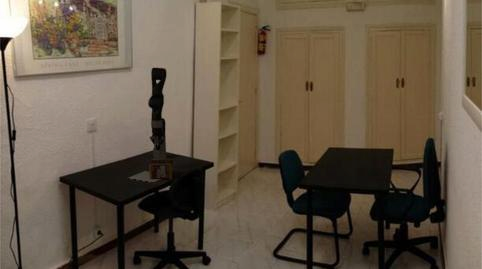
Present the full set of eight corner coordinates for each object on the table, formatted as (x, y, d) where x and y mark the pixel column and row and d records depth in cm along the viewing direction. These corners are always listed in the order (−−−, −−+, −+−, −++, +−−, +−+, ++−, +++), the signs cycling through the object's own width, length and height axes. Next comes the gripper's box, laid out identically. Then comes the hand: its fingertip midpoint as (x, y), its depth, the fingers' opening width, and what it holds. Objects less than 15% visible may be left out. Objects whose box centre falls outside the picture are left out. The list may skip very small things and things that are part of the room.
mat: (127, 178, 332) (127, 177, 332) (145, 171, 349) (145, 171, 349) (153, 183, 322) (153, 182, 322) (170, 175, 339) (169, 175, 339)
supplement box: (150, 159, 342) (148, 164, 326) (172, 158, 343) (171, 164, 328) (151, 173, 344) (149, 179, 329) (173, 172, 345) (172, 178, 330)
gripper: (146, 126, 338) (147, 150, 341) (161, 128, 332) (162, 152, 335) (152, 124, 344) (153, 148, 348) (167, 126, 338) (168, 150, 342)
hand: (158, 150), depth 342 cm, fingers closed
